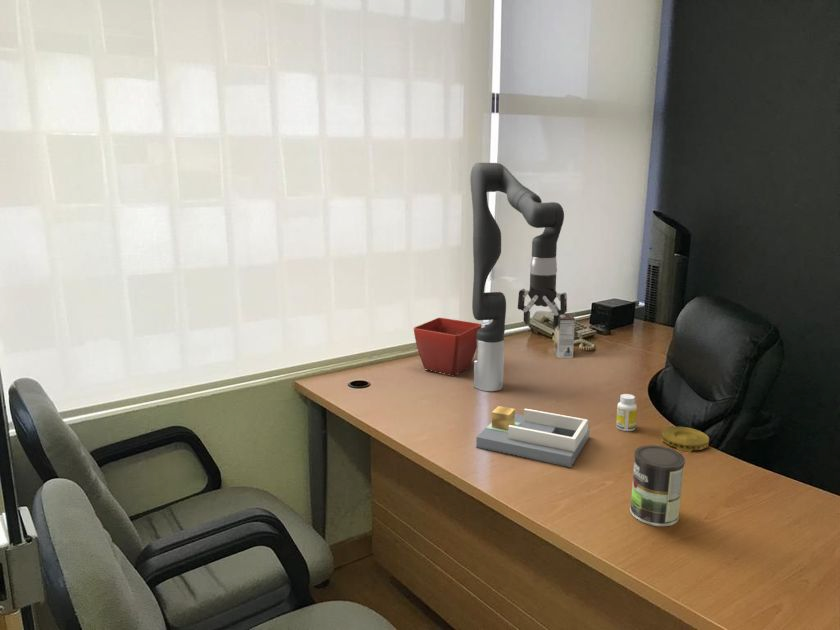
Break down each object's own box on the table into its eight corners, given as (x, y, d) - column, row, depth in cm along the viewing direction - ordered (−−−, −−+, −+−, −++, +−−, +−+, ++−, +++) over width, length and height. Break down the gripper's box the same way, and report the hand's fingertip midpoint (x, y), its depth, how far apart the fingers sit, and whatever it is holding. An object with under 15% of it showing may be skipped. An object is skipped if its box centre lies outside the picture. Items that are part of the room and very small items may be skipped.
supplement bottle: (635, 425, 185) (637, 394, 182) (635, 432, 180) (637, 400, 177) (616, 423, 187) (618, 392, 184) (615, 430, 182) (617, 398, 179)
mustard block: (491, 427, 177) (491, 412, 176) (497, 420, 181) (498, 405, 180) (508, 430, 175) (508, 415, 174) (514, 423, 179) (514, 408, 178)
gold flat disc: (652, 438, 177) (652, 431, 176) (684, 430, 182) (684, 423, 181) (685, 456, 166) (685, 448, 166) (718, 447, 171) (719, 440, 170)
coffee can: (641, 528, 134) (646, 468, 130) (622, 502, 144) (626, 446, 140) (688, 525, 135) (694, 465, 131) (666, 500, 145) (671, 443, 141)
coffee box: (553, 351, 256) (554, 313, 252) (568, 351, 256) (570, 313, 252) (557, 358, 247) (559, 318, 243) (573, 358, 247) (575, 318, 243)
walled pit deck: (476, 447, 172) (476, 425, 170) (502, 420, 189) (502, 400, 188) (570, 467, 160) (572, 443, 159) (589, 437, 177) (590, 415, 176)
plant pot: (482, 366, 239) (482, 323, 235) (457, 381, 223) (457, 335, 219) (439, 358, 249) (438, 317, 245) (412, 372, 233) (412, 328, 229)
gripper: (515, 272, 183) (514, 325, 187) (564, 275, 177) (561, 331, 181) (524, 268, 190) (522, 320, 194) (570, 271, 183) (568, 325, 187)
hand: (541, 325), depth 187 cm, fingers open, 8 cm apart
